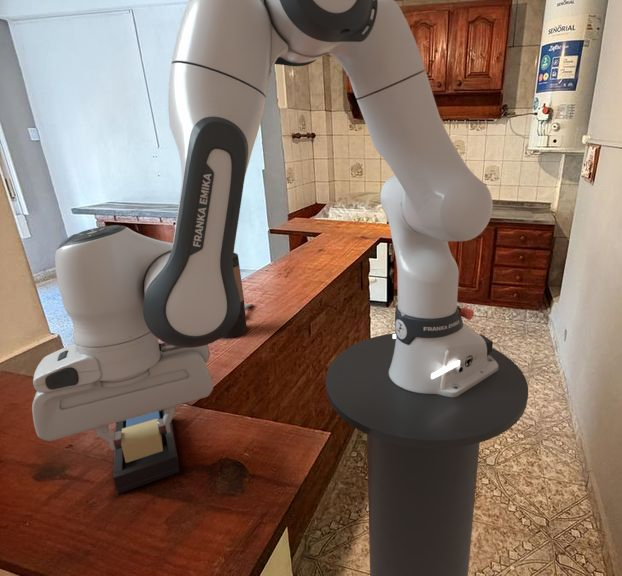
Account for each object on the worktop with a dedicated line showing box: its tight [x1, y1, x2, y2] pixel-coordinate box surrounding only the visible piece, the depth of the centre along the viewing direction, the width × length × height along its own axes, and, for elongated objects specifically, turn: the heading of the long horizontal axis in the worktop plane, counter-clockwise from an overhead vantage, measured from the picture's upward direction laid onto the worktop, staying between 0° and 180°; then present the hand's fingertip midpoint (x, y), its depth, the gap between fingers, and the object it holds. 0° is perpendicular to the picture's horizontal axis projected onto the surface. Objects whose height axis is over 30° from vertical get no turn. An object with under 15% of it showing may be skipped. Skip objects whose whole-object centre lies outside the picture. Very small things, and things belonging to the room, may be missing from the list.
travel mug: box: [220, 252, 248, 339], centre depth 98 cm, size 8×8×20 cm
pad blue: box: [126, 411, 161, 427], centre depth 62 cm, size 4×4×3 cm
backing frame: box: [113, 409, 181, 495], centre depth 60 cm, size 8×14×3 cm, turn 31°
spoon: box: [244, 303, 253, 310], centre depth 113 cm, size 3×12×2 cm, turn 2°
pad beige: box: [121, 419, 163, 463], centre depth 56 cm, size 4×4×3 cm
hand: (141, 439), depth 56 cm, fingers closed on pad beige, 4 cm apart
